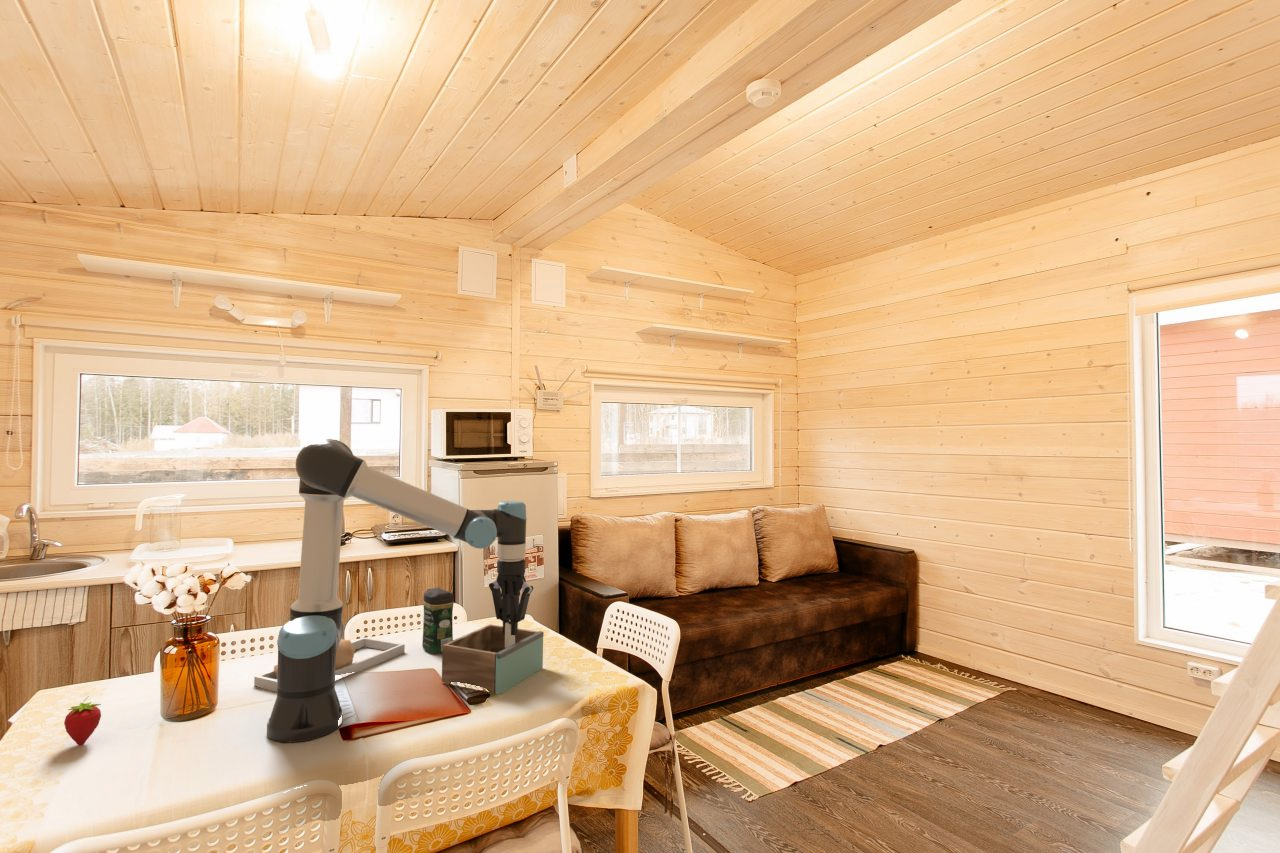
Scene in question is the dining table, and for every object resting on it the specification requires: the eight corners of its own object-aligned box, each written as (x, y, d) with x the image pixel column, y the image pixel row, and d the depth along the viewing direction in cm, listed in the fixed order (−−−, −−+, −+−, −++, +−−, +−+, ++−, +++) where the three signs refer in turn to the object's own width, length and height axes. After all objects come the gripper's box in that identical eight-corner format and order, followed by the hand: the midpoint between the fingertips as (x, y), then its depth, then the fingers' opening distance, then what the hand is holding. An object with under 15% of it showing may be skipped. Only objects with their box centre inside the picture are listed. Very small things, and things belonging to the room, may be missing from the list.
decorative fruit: (100, 734, 141) (101, 687, 141) (100, 747, 135) (102, 698, 135) (63, 741, 137) (65, 694, 137) (62, 755, 131) (64, 706, 131)
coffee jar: (418, 648, 201) (419, 588, 201) (442, 643, 206) (443, 584, 206) (431, 656, 194) (433, 594, 194) (456, 650, 199) (457, 590, 199)
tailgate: (499, 694, 163) (500, 654, 163) (494, 693, 164) (495, 653, 164) (542, 668, 183) (543, 631, 183) (538, 667, 183) (539, 631, 183)
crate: (494, 697, 164) (495, 654, 164) (441, 687, 170) (442, 645, 170) (537, 670, 183) (538, 631, 183) (489, 662, 190) (490, 624, 190)
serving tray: (298, 696, 162) (298, 686, 162) (254, 686, 168) (254, 676, 169) (404, 652, 197) (404, 644, 197) (364, 645, 203) (364, 637, 203)
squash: (361, 673, 180) (359, 643, 178) (280, 699, 167) (277, 667, 166) (350, 655, 188) (348, 627, 186) (272, 679, 176) (269, 649, 174)
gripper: (539, 558, 176) (538, 645, 176) (499, 554, 181) (497, 639, 181) (524, 563, 169) (522, 654, 169) (483, 559, 174) (481, 647, 174)
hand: (509, 646), depth 175 cm, fingers closed
